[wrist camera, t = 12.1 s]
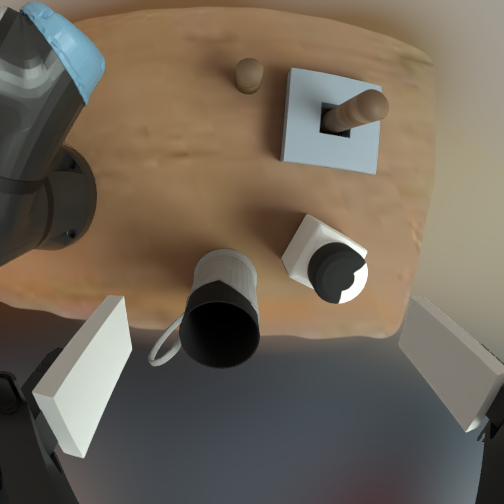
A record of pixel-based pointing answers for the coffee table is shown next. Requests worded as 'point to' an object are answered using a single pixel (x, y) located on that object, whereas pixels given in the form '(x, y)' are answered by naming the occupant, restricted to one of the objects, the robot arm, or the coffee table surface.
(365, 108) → the long pin
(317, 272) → the medicine bottle
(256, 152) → the coffee table surface
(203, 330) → the grey black mug
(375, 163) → the collar plate
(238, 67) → the short pin
